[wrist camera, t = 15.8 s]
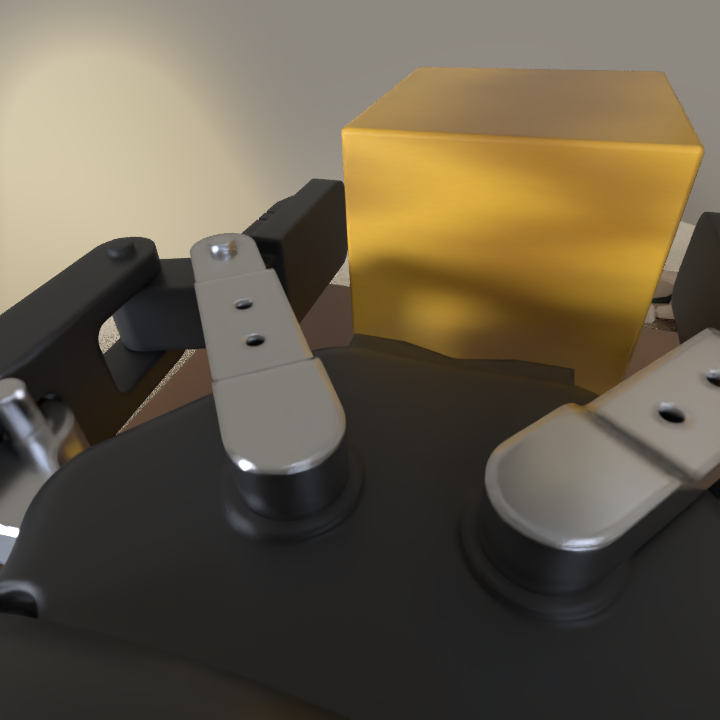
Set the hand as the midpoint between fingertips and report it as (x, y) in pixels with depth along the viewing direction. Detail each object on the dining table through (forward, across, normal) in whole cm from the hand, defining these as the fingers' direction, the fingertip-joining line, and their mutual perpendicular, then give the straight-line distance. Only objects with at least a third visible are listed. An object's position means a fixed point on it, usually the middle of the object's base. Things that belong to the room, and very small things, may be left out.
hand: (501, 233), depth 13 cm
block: (-2, 0, +7) cm, 7 cm away
